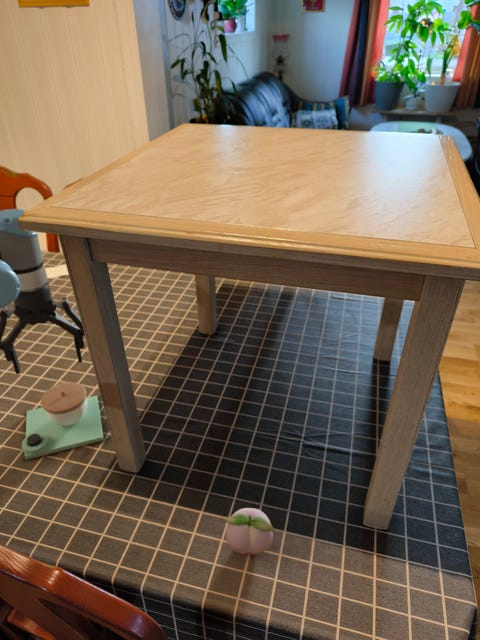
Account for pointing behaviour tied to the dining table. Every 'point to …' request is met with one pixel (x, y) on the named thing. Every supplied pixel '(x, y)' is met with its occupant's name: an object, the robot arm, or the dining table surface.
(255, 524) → the decorative fruit
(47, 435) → the scale
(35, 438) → the button
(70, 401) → the trinket box
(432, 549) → the dining table surface
